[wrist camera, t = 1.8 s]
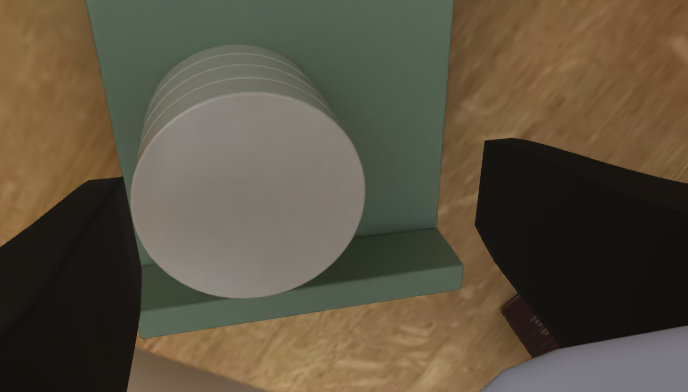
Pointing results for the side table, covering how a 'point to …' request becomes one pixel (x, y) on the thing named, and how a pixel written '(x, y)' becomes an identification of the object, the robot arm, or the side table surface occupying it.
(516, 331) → the box
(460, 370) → the side table surface
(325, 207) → the saucers
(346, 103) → the green end-lipped tray
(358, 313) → the side table surface
